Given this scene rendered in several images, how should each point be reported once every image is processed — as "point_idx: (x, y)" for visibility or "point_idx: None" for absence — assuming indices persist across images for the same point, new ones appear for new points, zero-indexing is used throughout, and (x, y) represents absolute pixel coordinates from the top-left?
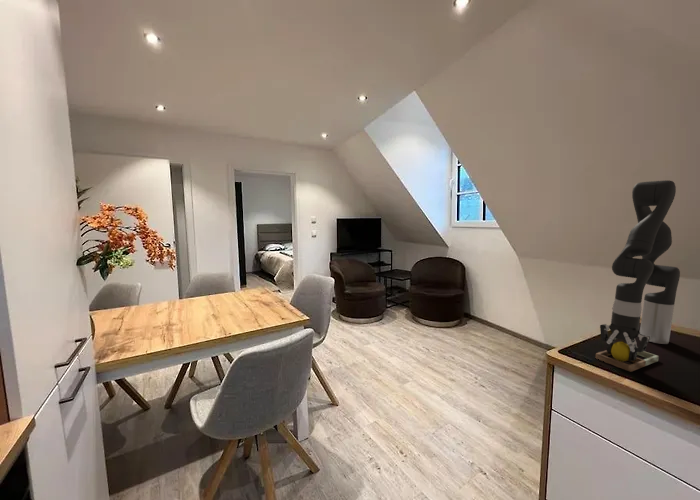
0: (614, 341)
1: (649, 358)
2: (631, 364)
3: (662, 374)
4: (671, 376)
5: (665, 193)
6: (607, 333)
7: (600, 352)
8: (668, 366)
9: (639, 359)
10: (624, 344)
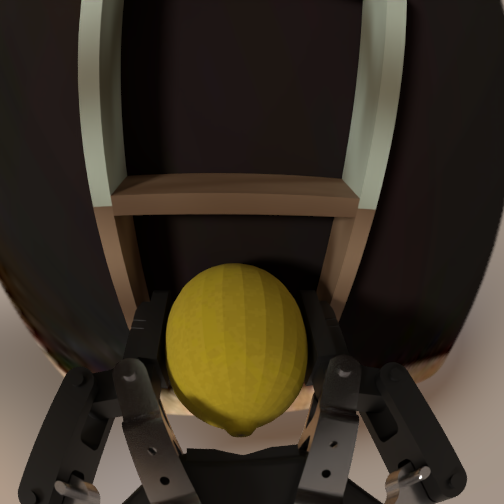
0: (150, 383)
1: (387, 109)
2: None
3: (428, 230)
4: (456, 214)
5: None
6: (76, 438)
7: None
8: (443, 39)
9: (335, 216)
10: (265, 423)
